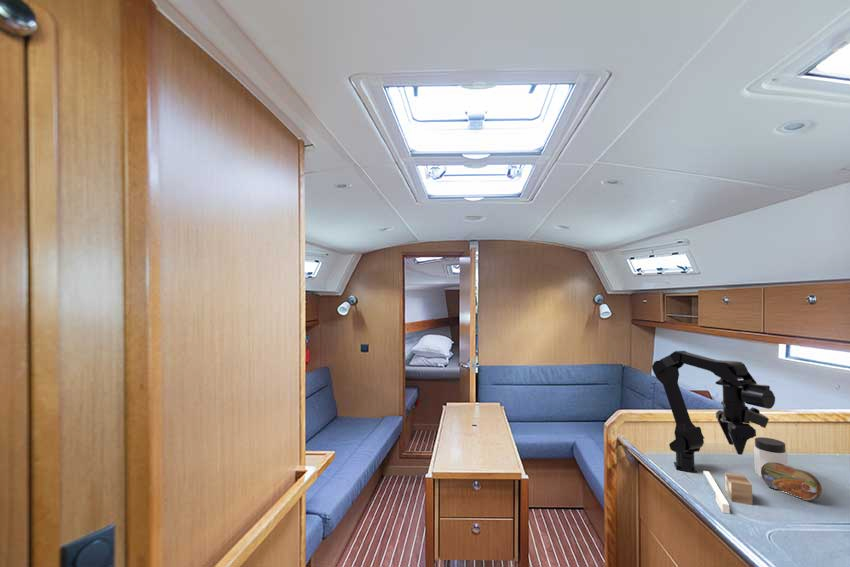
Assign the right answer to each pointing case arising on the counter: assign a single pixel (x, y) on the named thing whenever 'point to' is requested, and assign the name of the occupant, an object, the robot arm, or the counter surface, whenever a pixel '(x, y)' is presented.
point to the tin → (791, 481)
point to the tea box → (738, 488)
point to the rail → (716, 492)
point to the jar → (768, 453)
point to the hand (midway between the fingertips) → (735, 449)
